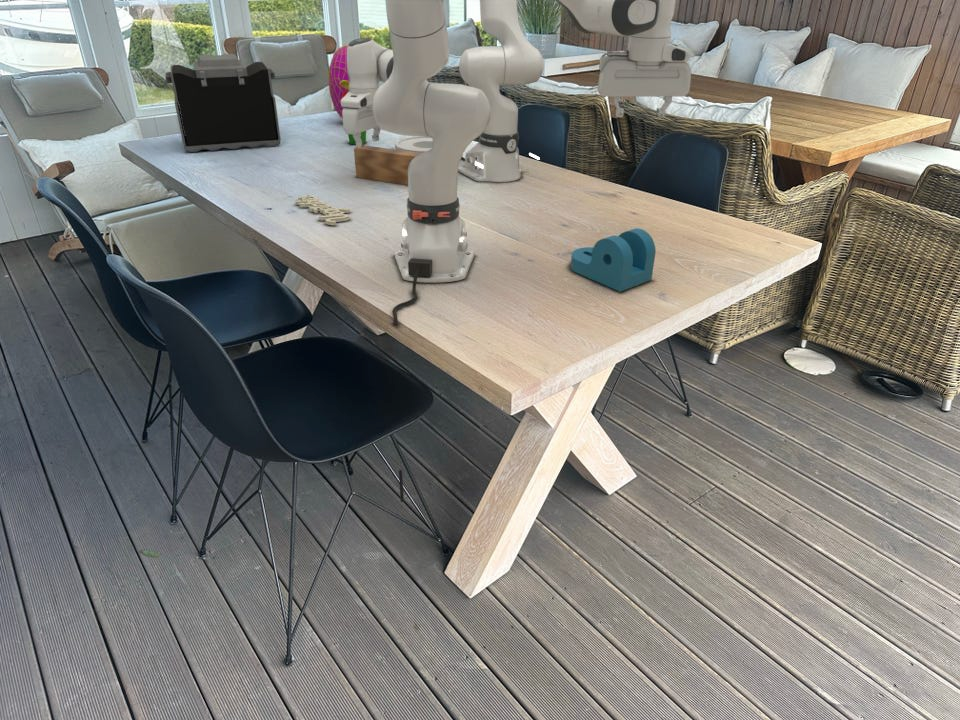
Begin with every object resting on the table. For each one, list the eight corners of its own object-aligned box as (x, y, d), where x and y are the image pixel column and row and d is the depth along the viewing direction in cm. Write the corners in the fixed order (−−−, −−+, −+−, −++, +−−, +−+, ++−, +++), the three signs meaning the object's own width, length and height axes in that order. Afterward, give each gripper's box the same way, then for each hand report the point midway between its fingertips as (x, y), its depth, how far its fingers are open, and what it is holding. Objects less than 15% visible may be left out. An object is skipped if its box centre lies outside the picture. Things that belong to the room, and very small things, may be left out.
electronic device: (278, 133, 274) (267, 51, 259) (285, 146, 256) (274, 59, 241) (180, 140, 262) (162, 54, 247) (180, 153, 244) (161, 62, 229)
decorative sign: (363, 215, 186) (329, 222, 181) (363, 219, 186) (330, 226, 181) (319, 192, 204) (287, 198, 198) (319, 195, 204) (288, 201, 199)
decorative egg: (362, 116, 305) (357, 42, 290) (386, 123, 292) (382, 46, 277) (324, 121, 294) (316, 45, 279) (347, 129, 281) (340, 49, 266)
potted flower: (342, 144, 260) (336, 73, 247) (351, 139, 266) (346, 70, 254) (365, 146, 257) (360, 74, 245) (374, 141, 264) (369, 71, 251)
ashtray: (453, 164, 236) (453, 152, 234) (387, 161, 239) (387, 149, 237) (465, 148, 256) (465, 137, 254) (404, 145, 259) (404, 134, 257)
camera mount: (651, 279, 153) (658, 234, 148) (620, 291, 148) (626, 245, 142) (592, 255, 165) (596, 213, 160) (561, 266, 160) (564, 222, 154)
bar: (436, 184, 216) (435, 154, 211) (428, 188, 212) (428, 158, 207) (364, 173, 226) (362, 144, 221) (356, 177, 222) (353, 148, 217)
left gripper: (603, 52, 146) (597, 119, 153) (697, 52, 147) (687, 119, 154) (597, 48, 152) (591, 114, 159) (688, 49, 153) (678, 114, 160)
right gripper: (373, 91, 217) (376, 136, 224) (337, 101, 201) (341, 149, 208) (390, 93, 215) (393, 138, 222) (355, 103, 199) (359, 151, 206)
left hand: (639, 117), depth 156 cm, fingers open, 8 cm apart
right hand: (368, 143), depth 215 cm, fingers open, 8 cm apart
